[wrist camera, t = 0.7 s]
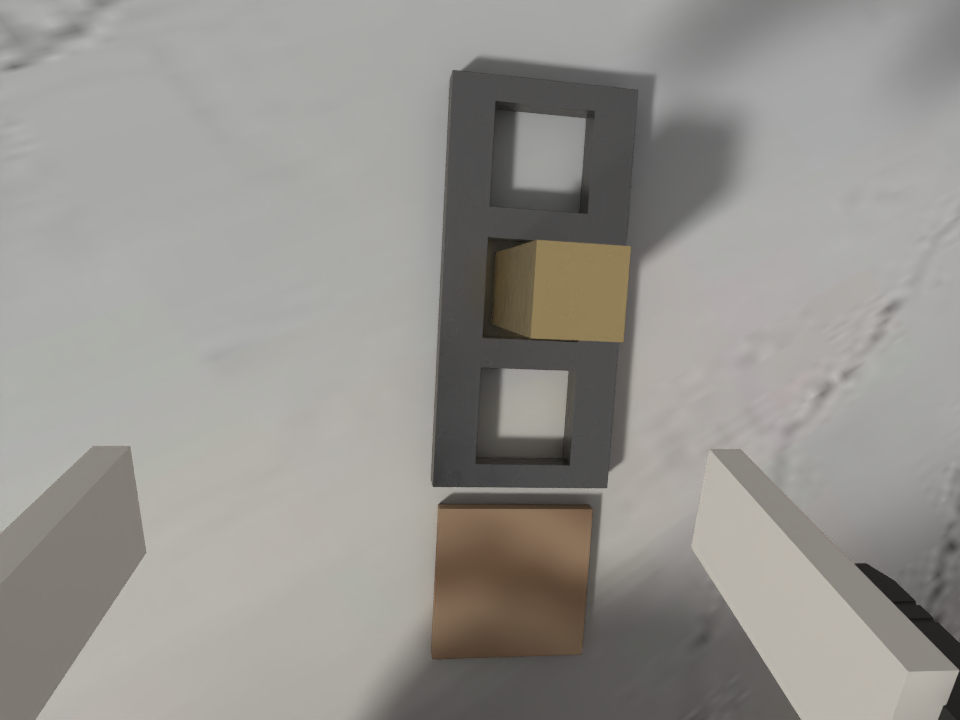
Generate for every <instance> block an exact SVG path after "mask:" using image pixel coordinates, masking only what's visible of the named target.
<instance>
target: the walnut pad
mask: <svg viewBox="0 0 960 720" xmlns="http://www.w3.org/2000/svg"><path fill="white" fill-rule="evenodd" d="M592 514H593V509H592V508H591V507H590V506H589V505H534V504H438V522H437V542H436V563H435V583H434V603H433V624H432V644H431V654H432V659H457V658H488V657H518V656H549V655H579V654H582V646H583V633H584V620H585V607H586V594H587V580H588V567H589V554H590V541H591V527H592Z"/></svg>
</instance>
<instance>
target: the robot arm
mask: <svg viewBox="0 0 960 720" xmlns="http://www.w3.org/2000/svg"><path fill="white" fill-rule="evenodd" d="M691 548H692V549H693V551H694V553H695V554H696V556H697V557H698V559H699V560H700V562H701V563H702V565H703V567H704V568H705V570H706V571H707V573H708V574H709V576H710V578H711V579H712V581H713V582H714V584H715V585H716V587H717V589H718V590H719V592H720V593H721V595H722V596H723V598H724V599H725V601H726V603H727V604H728V606H729V607H730V609H731V610H732V612H733V614H734V615H735V617H736V618H737V620H738V621H739V623H740V625H741V626H742V628H743V629H744V631H745V632H746V634H747V636H748V637H749V639H750V640H751V642H752V643H753V645H754V646H755V648H756V650H757V651H758V653H759V654H760V656H761V657H762V659H763V661H764V662H765V664H766V665H767V667H768V668H769V670H770V672H771V673H772V675H773V676H774V678H775V679H776V681H777V683H778V684H779V686H780V687H781V689H782V690H783V692H784V693H785V695H786V697H787V698H788V700H789V701H790V703H791V704H792V706H793V708H794V709H795V711H796V712H797V714H798V715H799V717H800V719H801V720H960V643H959V642H958V641H957V640H956V639H955V638H954V637H953V636H952V635H950V634H949V633H948V632H947V631H946V630H945V629H944V628H943V627H942V626H941V625H940V624H939V623H938V622H934V621H933V617H932V616H931V615H930V614H929V613H928V612H927V611H925V610H924V609H923V608H922V607H921V606H920V605H916V601H915V600H914V599H913V598H912V597H911V596H910V595H909V594H908V593H907V592H906V591H905V590H904V589H903V588H901V587H900V586H899V585H898V584H897V583H896V582H895V581H894V580H892V579H891V578H889V577H887V576H886V575H884V574H883V573H881V572H879V571H878V570H876V569H874V568H873V567H871V566H870V565H868V564H866V563H862V564H854V563H853V562H852V561H851V560H850V559H849V558H848V557H847V556H846V555H845V554H844V553H843V552H842V551H841V550H840V549H839V548H838V547H837V546H836V545H835V544H834V543H833V542H832V541H831V540H830V539H829V538H828V537H827V536H826V535H825V534H824V533H823V532H822V531H821V530H820V529H819V528H818V527H817V526H816V525H815V524H814V523H813V522H812V521H811V520H810V519H809V518H808V517H807V516H806V515H805V514H804V513H803V512H802V511H801V510H800V509H799V508H798V507H797V506H796V505H795V504H794V503H793V502H792V501H791V500H790V499H789V498H788V497H787V496H786V495H785V494H784V493H783V492H782V491H781V490H780V489H779V488H778V487H777V486H776V485H775V484H774V483H773V482H772V481H771V480H770V479H769V478H768V477H767V476H766V475H765V474H764V473H763V471H762V470H761V469H760V468H759V467H758V466H757V465H756V464H755V463H754V462H753V461H752V460H751V459H750V458H749V457H748V456H747V455H746V454H745V453H744V452H743V451H742V450H741V449H710V450H709V455H708V460H707V466H706V471H705V476H704V482H703V487H702V493H701V498H700V503H699V509H698V514H697V519H696V525H695V530H694V535H693V541H692V546H691ZM145 554H146V548H145V541H144V534H143V528H142V521H141V514H140V508H139V501H138V495H137V488H136V481H135V475H134V468H133V461H132V455H131V448H130V446H93V447H92V448H91V449H90V450H89V451H87V452H86V453H85V454H84V455H83V456H82V457H81V458H80V459H79V460H78V461H77V462H76V463H75V464H74V465H73V466H72V467H71V468H70V469H68V470H67V471H66V472H65V473H64V474H63V475H62V476H61V477H60V478H59V479H58V480H57V481H56V482H55V483H54V484H53V485H52V486H51V487H49V488H48V489H47V490H46V491H45V492H44V493H43V494H42V495H41V496H40V497H39V498H38V499H37V500H36V501H35V502H34V503H33V504H31V505H30V506H29V507H28V508H27V509H26V510H25V511H24V512H23V513H22V514H21V515H20V516H19V517H18V518H17V519H16V520H15V521H14V522H12V523H11V524H10V525H9V526H8V527H7V528H6V529H5V530H4V531H3V532H2V533H1V534H0V720H35V719H36V718H37V716H38V715H39V713H40V712H41V710H42V709H43V707H44V706H45V704H46V703H47V701H48V700H49V698H50V697H51V695H52V694H53V692H54V691H55V689H56V688H57V686H58V685H59V683H60V682H61V680H62V679H63V677H64V676H65V674H66V673H67V671H68V670H69V668H70V667H71V665H72V664H73V662H74V661H75V659H76V658H77V656H78V655H79V653H80V652H81V650H82V649H83V647H84V646H85V644H86V643H87V641H88V640H89V638H90V637H91V635H92V633H93V632H94V630H95V629H96V627H97V626H98V624H99V623H100V621H101V620H102V618H103V617H104V615H105V614H106V612H107V611H108V609H109V608H110V606H111V605H112V603H113V602H114V600H115V599H116V597H117V596H118V594H119V593H120V591H121V590H122V588H123V587H124V585H125V584H126V582H127V581H128V579H129V578H130V576H131V575H132V573H133V572H134V570H135V569H136V567H137V566H138V564H139V563H140V561H141V560H142V558H143V557H144V555H145Z"/></svg>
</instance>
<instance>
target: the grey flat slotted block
mask: <svg viewBox="0 0 960 720" xmlns="http://www.w3.org/2000/svg"><path fill="white" fill-rule="evenodd" d="M637 97H638V90H634V89H625V88H615V87H606V86H597V85H587V84H578V83H569V82H559V81H550V80H541V79H531V78H522V77H513V76H503V75H494V74H485V73H475V72H466V71H457V70H453V71H452V74H451V77H450V88H449V109H448V130H447V151H446V172H445V193H444V214H443V235H442V256H441V277H440V298H439V319H438V340H437V361H436V382H435V403H434V424H433V445H432V466H431V481H432V485H433V487H521V488H607V483H608V470H609V457H610V444H611V431H612V418H613V406H614V393H615V380H616V367H617V354H618V342H603V341H580V340H557V339H535V338H512V337H489V336H483V318H484V300H485V282H486V264H487V246H488V239H490V240H505V241H519V242H531V241H535V240H547V241H562V242H576V243H591V244H606V245H620V246H626V238H627V226H628V213H629V200H630V187H631V174H632V161H633V148H634V136H635V123H636V110H637ZM495 109H499V110H509V111H519V112H529V113H540V114H550V115H560V116H570V117H580V118H586V131H585V145H584V160H583V174H582V188H581V203H580V213H570V212H557V211H544V210H530V209H517V208H504V207H491V206H490V191H491V173H492V155H493V137H494V118H495ZM481 367H482V368H510V369H537V370H564V371H569V374H568V389H567V403H566V417H565V432H564V446H563V459H561V458H495V457H476V445H477V427H478V409H479V391H480V373H481Z"/></svg>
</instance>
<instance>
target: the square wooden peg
mask: <svg viewBox="0 0 960 720" xmlns="http://www.w3.org/2000/svg"><path fill="white" fill-rule="evenodd" d="M630 253H631V246H620V245H606V244H591V243H576V242H562V241H547V240H535V241H531V242H528V243H525V244H522V245H519V246H515V247H512V248H509V249H506V250H502V251H499V252H496V253H495V267H494V284H493V302H492V320H491V324H492V325H495V326H498V327H501V328H503V329H506V330H509V331H512V332H515V333H517V334H520V335H523V336H526V337H528V338H535V339H558V340H580V341H603V342H624V329H625V317H626V304H627V291H628V279H629V266H630Z"/></svg>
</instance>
